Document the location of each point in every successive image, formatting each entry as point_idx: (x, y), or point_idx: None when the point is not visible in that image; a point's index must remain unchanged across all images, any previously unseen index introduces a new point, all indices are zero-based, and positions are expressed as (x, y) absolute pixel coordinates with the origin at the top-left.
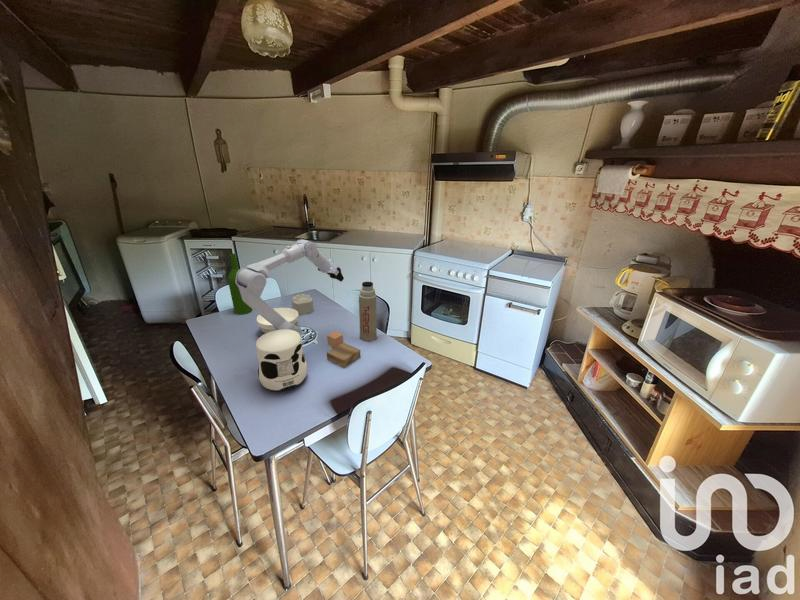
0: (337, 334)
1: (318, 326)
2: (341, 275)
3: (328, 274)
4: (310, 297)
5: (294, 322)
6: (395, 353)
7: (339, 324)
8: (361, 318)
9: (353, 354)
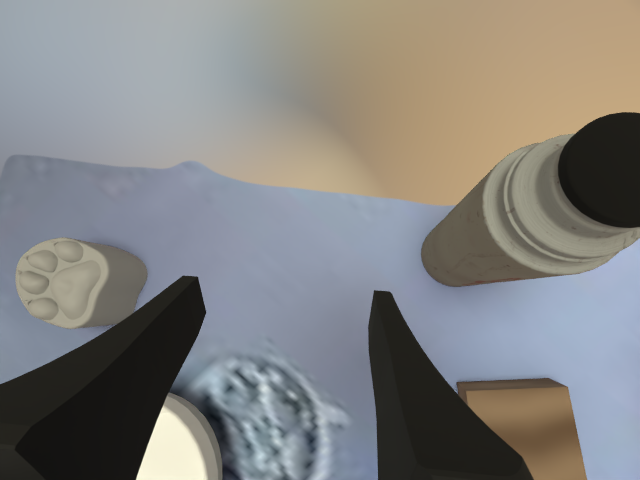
0: None
1: (248, 327)
2: (406, 343)
3: (187, 355)
4: (80, 247)
5: (212, 458)
6: (626, 269)
7: (296, 262)
8: (486, 281)
9: (576, 431)
